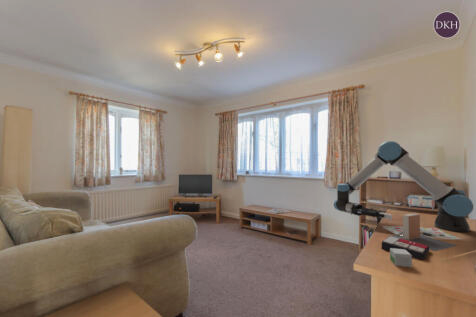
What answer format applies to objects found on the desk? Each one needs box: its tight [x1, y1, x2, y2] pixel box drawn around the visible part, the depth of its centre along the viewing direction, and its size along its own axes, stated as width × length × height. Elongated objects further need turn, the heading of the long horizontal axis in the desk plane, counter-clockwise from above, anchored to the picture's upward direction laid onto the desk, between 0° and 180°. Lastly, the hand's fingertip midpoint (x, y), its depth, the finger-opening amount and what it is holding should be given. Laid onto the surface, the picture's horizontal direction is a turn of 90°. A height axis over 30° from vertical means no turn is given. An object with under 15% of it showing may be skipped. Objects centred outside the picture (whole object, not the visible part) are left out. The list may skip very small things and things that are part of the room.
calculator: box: [381, 235, 430, 261], centre depth 97 cm, size 11×4×15 cm
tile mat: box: [387, 233, 459, 252], centre depth 108 cm, size 18×20×1 cm
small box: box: [389, 248, 413, 268], centre depth 85 cm, size 6×6×5 cm
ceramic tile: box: [402, 212, 421, 240], centre depth 112 cm, size 9×3×12 cm, turn 111°
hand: (391, 217), depth 122 cm, fingers closed
